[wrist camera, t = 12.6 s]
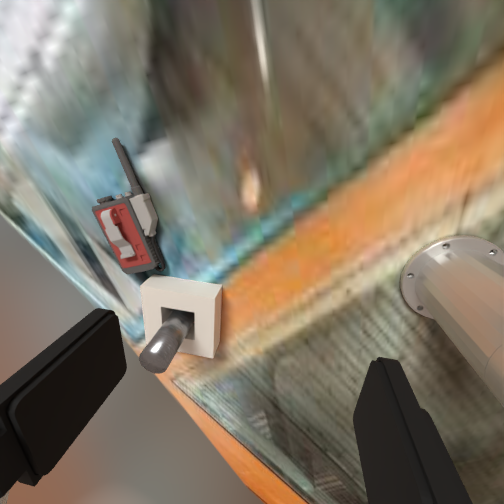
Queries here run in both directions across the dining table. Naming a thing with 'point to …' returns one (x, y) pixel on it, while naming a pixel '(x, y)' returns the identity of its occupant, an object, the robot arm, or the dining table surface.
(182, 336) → the peg
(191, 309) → the socket block
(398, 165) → the dining table surface
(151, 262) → the walkie-talkie
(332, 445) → the dining table surface
